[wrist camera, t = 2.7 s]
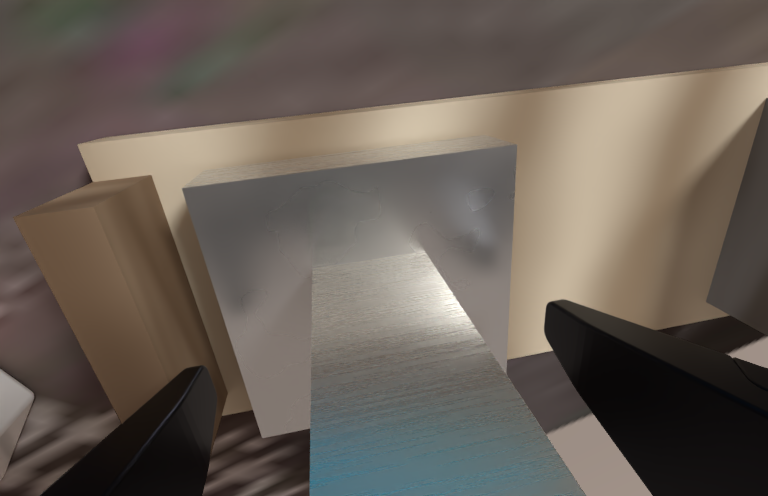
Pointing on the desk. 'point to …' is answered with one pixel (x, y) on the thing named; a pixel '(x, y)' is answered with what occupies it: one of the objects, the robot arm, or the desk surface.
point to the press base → (426, 124)
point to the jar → (11, 415)
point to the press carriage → (380, 315)
